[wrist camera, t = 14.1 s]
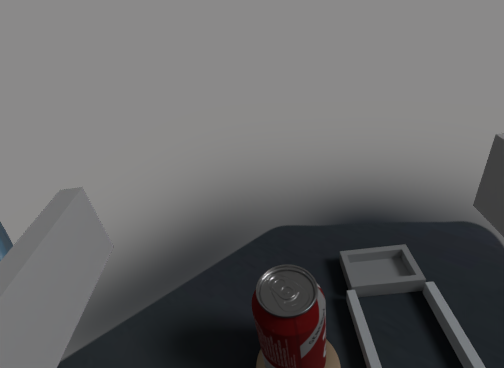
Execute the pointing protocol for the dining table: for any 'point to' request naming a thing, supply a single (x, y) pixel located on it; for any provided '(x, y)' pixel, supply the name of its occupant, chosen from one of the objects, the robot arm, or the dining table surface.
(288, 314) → the soda can
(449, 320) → the channel
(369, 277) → the tray
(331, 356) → the cork coaster
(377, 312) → the dining table surface
